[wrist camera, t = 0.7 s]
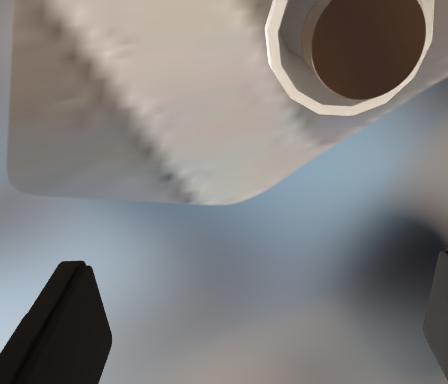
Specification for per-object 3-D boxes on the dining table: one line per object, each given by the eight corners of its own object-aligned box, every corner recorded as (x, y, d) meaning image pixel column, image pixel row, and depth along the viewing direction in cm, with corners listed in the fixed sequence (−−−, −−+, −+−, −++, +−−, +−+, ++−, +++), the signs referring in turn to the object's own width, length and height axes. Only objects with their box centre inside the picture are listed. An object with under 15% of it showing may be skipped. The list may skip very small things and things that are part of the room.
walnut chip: (377, -42, 21) (403, -48, 18) (413, 53, 23) (442, 63, 20) (283, 18, 22) (291, 24, 19) (325, 102, 24) (338, 119, 21)
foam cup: (367, 66, 36) (428, 103, 24) (265, 84, 37) (278, 127, 25) (365, -54, 32) (439, -79, 20) (251, -31, 33) (258, -42, 21)
